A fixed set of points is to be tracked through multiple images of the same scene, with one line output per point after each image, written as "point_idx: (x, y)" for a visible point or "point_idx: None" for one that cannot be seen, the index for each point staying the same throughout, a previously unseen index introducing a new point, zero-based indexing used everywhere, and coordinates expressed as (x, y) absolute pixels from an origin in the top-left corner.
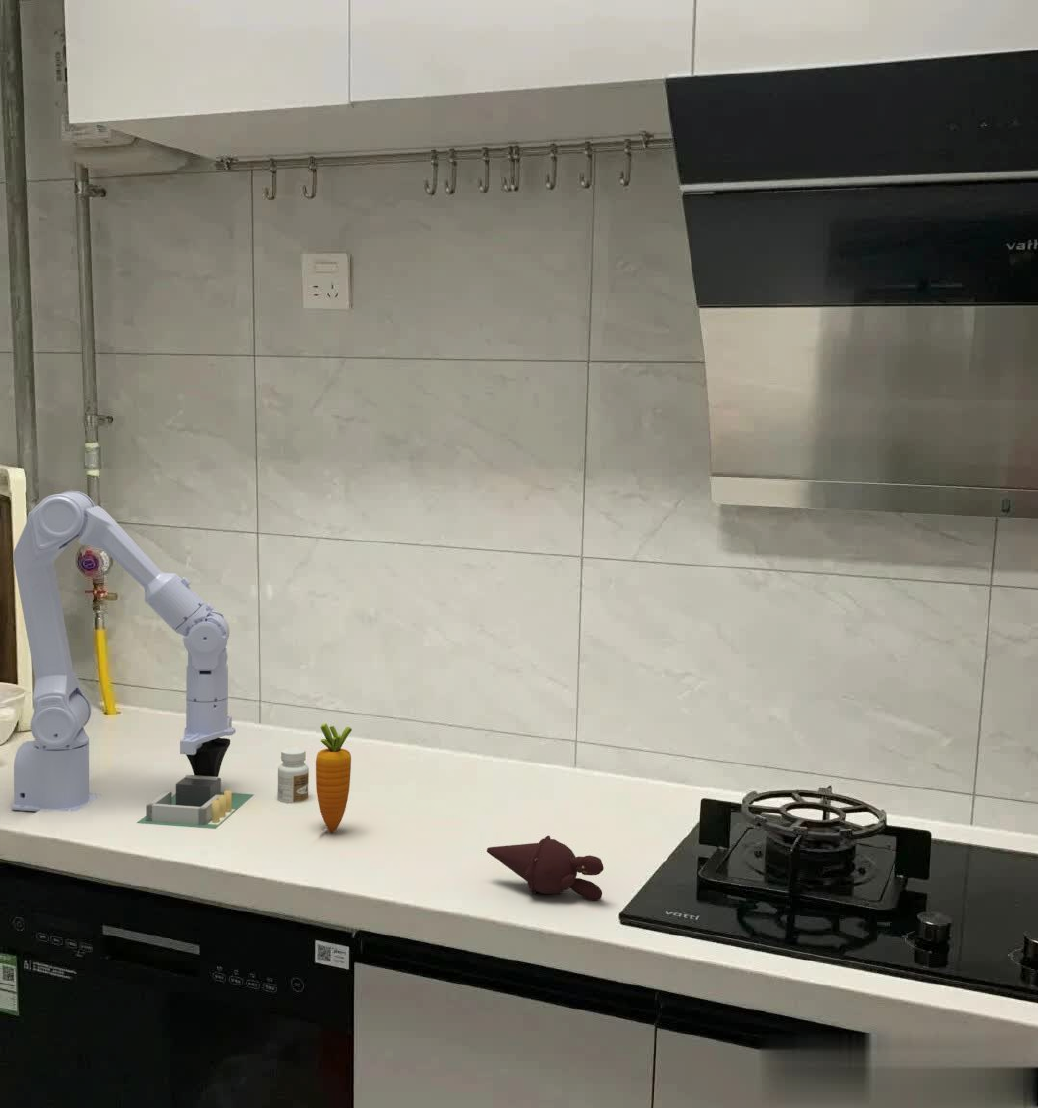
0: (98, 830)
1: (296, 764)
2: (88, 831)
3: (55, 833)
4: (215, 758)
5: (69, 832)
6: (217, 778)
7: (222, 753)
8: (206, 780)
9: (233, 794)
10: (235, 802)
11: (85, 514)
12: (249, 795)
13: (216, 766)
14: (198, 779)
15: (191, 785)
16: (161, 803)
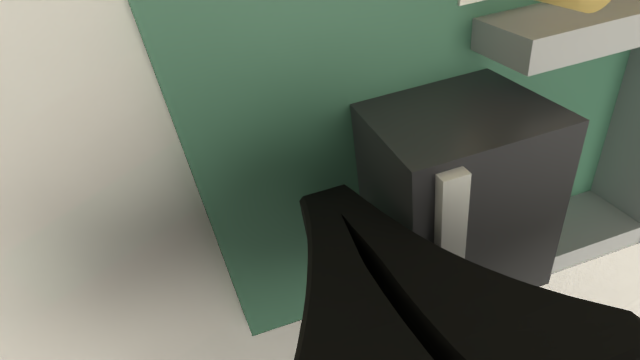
0: (619, 261)
1: None
2: (624, 272)
3: (629, 310)
4: (560, 293)
5: (626, 296)
6: (451, 174)
7: (413, 347)
8: (476, 210)
9: (204, 119)
10: (331, 22)
11: None
12: (167, 15)
13: (424, 264)
14: (466, 253)
15: (561, 218)
16: (572, 232)
